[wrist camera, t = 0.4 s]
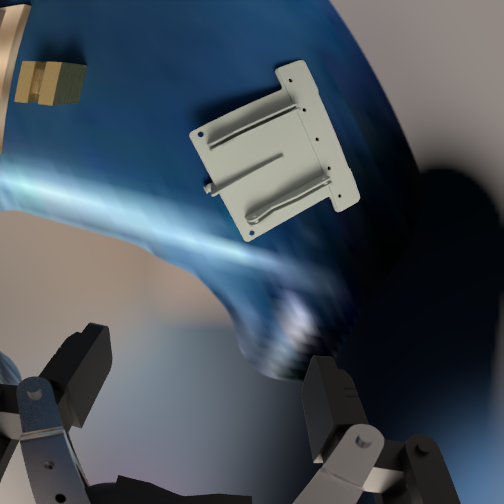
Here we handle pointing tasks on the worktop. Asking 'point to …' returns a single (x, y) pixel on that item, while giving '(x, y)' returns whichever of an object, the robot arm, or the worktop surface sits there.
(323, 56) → the worktop surface
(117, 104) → the worktop surface
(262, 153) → the metal bracket
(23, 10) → the coupling base
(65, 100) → the slotted brass block
